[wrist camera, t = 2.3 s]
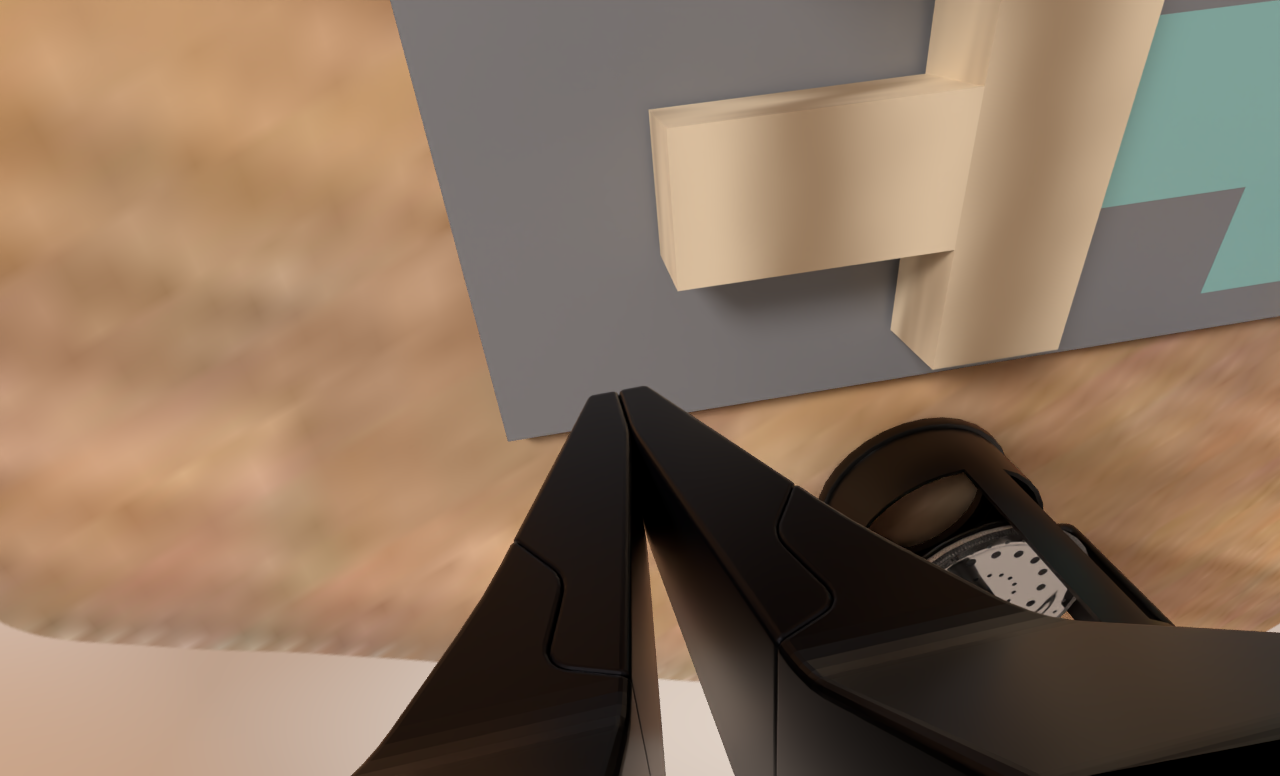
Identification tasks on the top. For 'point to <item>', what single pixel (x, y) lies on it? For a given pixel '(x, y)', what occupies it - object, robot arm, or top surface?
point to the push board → (810, 301)
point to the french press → (988, 523)
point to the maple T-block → (922, 173)
